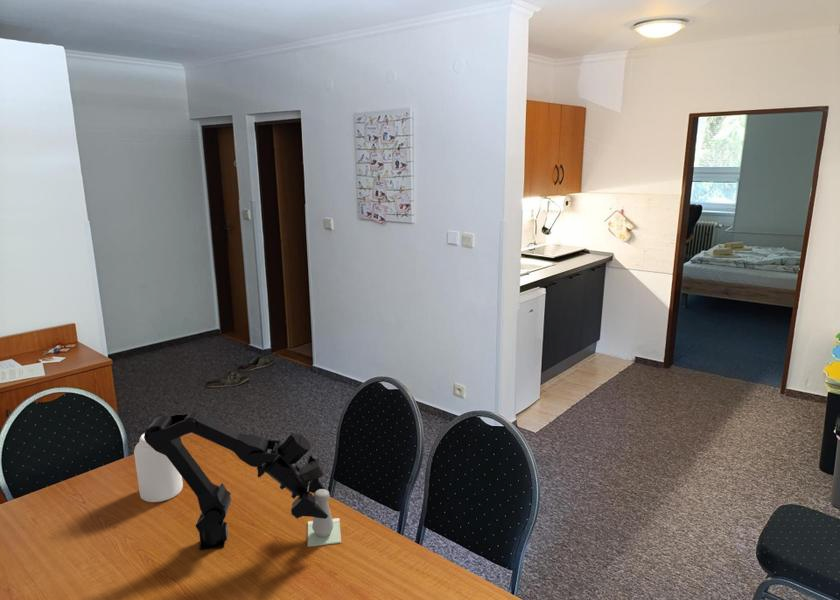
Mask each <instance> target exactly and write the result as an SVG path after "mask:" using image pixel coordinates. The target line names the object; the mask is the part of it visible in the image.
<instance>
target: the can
mask: <svg viewBox="0 0 840 600" xmlns="http://www.w3.org/2000/svg"><path fill="white" fill-rule="evenodd" d="M144 435H145V432H144V433H142V434H141V436H140V437H139V442H137V444H136V445H135V446H134V450H133V455H134V462H135V470H136V476H137V477H136V478H137V483H138V492H139V496H140V498H141V499H142V500H143V501H145V502H147V503H160V502H164V501H168V500H171V499H172V498H174V497H176V496H178V495H179V494H180V492H181V491H182V490H183V487H184V481H183V477H182V476H181V475H180V473H179V472H178V471H177V469H176V468H175V467H174V466H173V464H172V463H171V462H170V460H169V459H168V458H167V456H165V455H164V454H161V453H159V452H157V451H155V450H154V449H153V448H152V447H151V446H150V445H149V444H147V442H146V441H145V439H144Z"/></svg>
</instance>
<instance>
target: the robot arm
mask: <svg viewBox="0 0 840 600" xmlns="http://www.w3.org/2000/svg"><path fill="white" fill-rule="evenodd" d="M144 433H145V435H144V439H145V441H146V442H147V444H149V445H150V446H151V447H152V448H153V449H154V450H155V451H157V452H159V453H161V454H164V455H165V456H167V458H168V459H169V460H170V462H171V463H172V464H173V466H174V467H175V468H176V469H177V471H178V472H179V473H180V475H181V476H182V480H184V481H185V483H186V484H187V485H188V487H189V488H190V489H191V491H192V492H193V493H194V495H195V496H196V497H197V502H198V505H199V510H200V512H201V513H200V515H199V517H198V519H197V521H196V524H195V527H196V529H197V531H198V535H199V546H198V550H199V551H201V550H202V551H203V550H210V549H218V548H224V547H225V544H226V541H227V540H228V535H229V530H228V522H227V521H225V518H226V516H227V514H228V510H229V508H230V506H231V502H232V498H231V492H230V491H228V489H227V488H226V486H225V485H224V483H221V484H219V485H216V484H214V483H212V481H211V480H210V479H209V477H208V476H207V475H206V473H205V472H204V470H203V469H202V468H201V467H200V465H199V464H198V463H197V461H196V460H195V458H194V457H193V456H192V454H190V452H189V451H188V449H187V448H186V446H185V445H184V444H183V442H182V439H181V438H182V436H184V435H187V434H190V433H192V434H194V435H197V436H199V437H201V438H203V439H205V440H207V441H209V442H211V443H213V444H217V445H218V446H221V447H223V448H225V449H227V450H229V451H231V452H233V453H234V454H235V456H237V458H238V459H239V460H240V461H242V462H244V463H245V464H247V465H248V466H249V467H253V468H256V469H257V478H258V479H260V478H261V477H262V476H263V475H264V474H266V475H268V476H270V477H271V478H272V480H274V481H276V482H277V483H278V484H279V489H280V490H282V491H283V490H284V489H286V490H287V491H289V492H290V493H291V496H290V497H291V498H292V499H293V500H294V499H295V500H294V501H293V502H292V504H291V508H290V511H291V512H290V515H291V516H293V517H294V518H295V519H299V518H302V517H312V518H314V517H316V518H323V519H326V518H327V517H328V515H327V514H326V513H325V511H324V510H323V509H322V508H321V507H320V506H318V505H317V504H316V497H315V496H314V493H315V492H316V491H317V490H319V489H325V490H327V489H326V488H325V486H324V485H323V483H322V481H321V480H320V478H322V477H323V476H324V472H325V468H326V467H325V466H324V464H323V463H322V459H321V458H320V457H319V456H316V455H315V454H310V455H309V456H308V457H307V462H305V464H304V465H303V466H301V465H300V464H297V463H298V462H299V461H300V460H301V459H302V458H303V457H304V456H305V455H306V454H307V453H308V452H309V451H310V450H311V449H312V448H311V443H310V441H308V439H307V437H305V436H303V435H301V434H300V433H299V434H298V433H295V432H293V431H291V432H289V433H288V434H287V436H286V437H285V438H284V440H276V439H266V438H265V437H263V436H259V435H255V434H252V433H251V434H247V433H241V432H238V431H236V430H234V429H232V428H229V427H227V426H225V425H222V424H220V423H219V422H216V421H214V420H212V419H210V418H207V417H205V416H203V415H201V414H200V413H199V412H198V411H191V412H188V413H176V414H172V415H168V416H167V415H160V416H157V417H156V418H154V420H153V421H152V422H151V424H150V425H149V426H148V427H147V429H146V430H145V431H144ZM294 464H295V465H294ZM330 497H331V495H330V494H329V498H330Z"/></svg>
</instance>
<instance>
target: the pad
mask: <svg viewBox="0 0 840 600" xmlns="http://www.w3.org/2000/svg"><path fill="white" fill-rule="evenodd" d="M332 520H333V529H332V531H331V534H330V535H328V536H327V537H323V538H319V537H318V536H317V535H316V534H315V532H314V530H313V529H312V525H313V520H309V521H307V547H309V548H310V547H319V546H325V545H334V544H342V537H341V535H342V534H341V523H340V520H341V519H340V517H339V518H338V517H337V518H336V517H335V518H332Z"/></svg>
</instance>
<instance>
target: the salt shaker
mask: <svg viewBox="0 0 840 600" xmlns="http://www.w3.org/2000/svg"><path fill="white" fill-rule="evenodd" d="M325 489H326V488H325ZM325 489H319V490H317V491H316V492H315V493H313V497H314V496H315V497H316V504H317V505H318V506H320V507H321V508H322V509H323V510H324V511H325V513H326V514H327V515H328V517H327V518H326V519H323V518H316V517H312V518H313V519H312V521H313V525H312V529H313V530H314V532H315V534H316V535H317V536H318V537H319V538H323V537H327V536H328V535H330V534H331V531H332V529H333V520H332V519H333V516H332V513H331V510H330V506H329V500H330V497H329V495H330V491H329V490H327V489H326V490H325Z"/></svg>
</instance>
